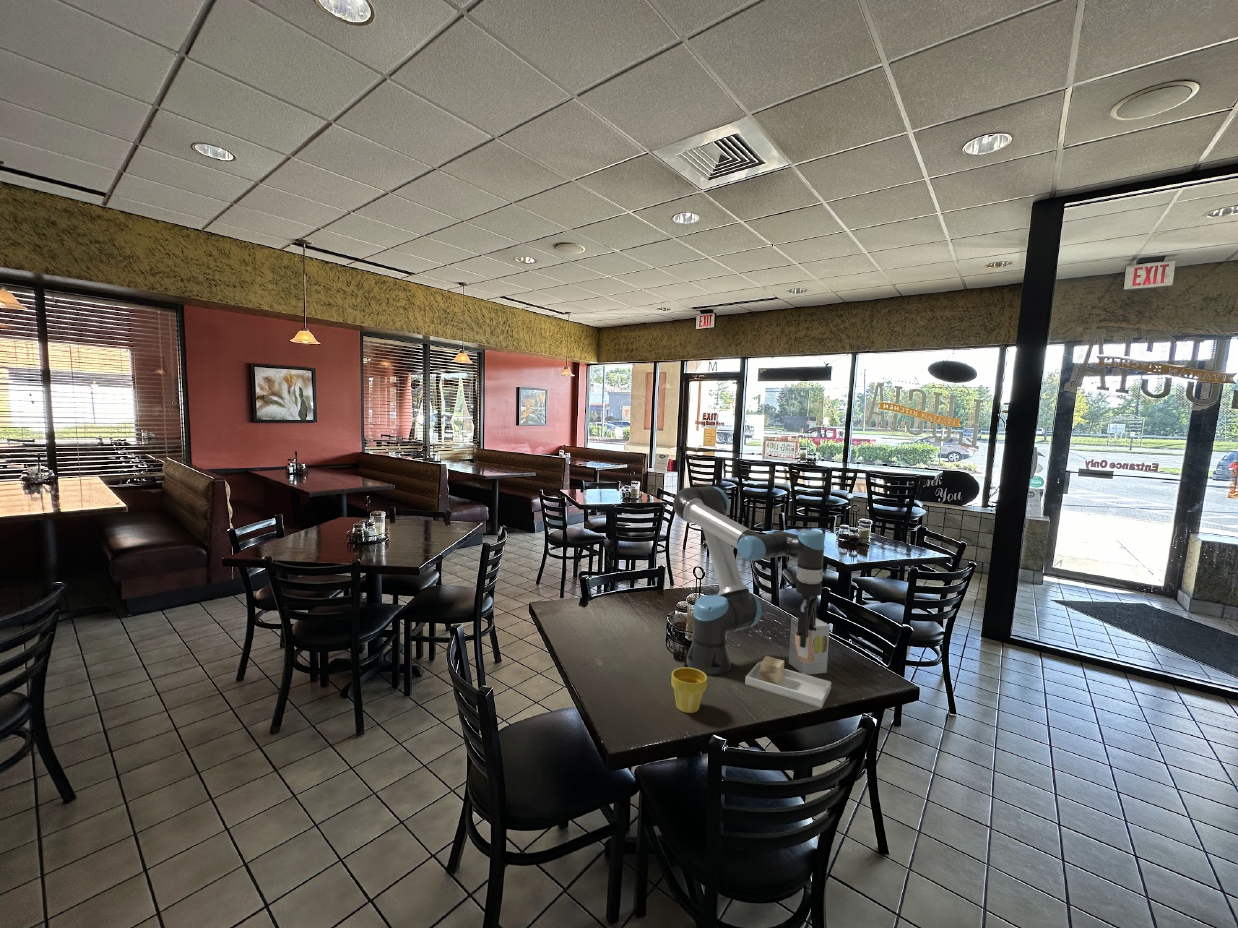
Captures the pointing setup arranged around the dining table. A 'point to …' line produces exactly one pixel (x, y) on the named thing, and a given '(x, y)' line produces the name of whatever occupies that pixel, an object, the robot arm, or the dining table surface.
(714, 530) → the robot arm
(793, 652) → the supplement box
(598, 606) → the dining table surface
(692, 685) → the plant pot
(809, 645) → the terracotta cylinder
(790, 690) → the tray
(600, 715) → the dining table surface
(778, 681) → the maple cube
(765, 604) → the dining table surface
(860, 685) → the dining table surface
